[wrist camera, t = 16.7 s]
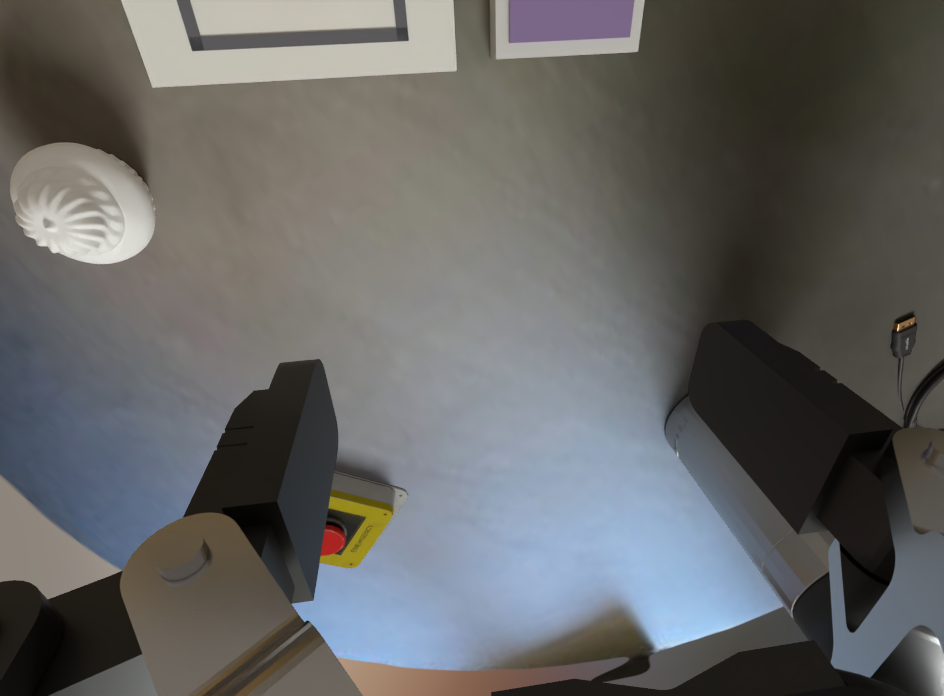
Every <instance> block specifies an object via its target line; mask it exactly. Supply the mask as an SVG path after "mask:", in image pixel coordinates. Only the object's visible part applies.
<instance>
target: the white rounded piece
mask: <svg viewBox="0 0 944 696" xmlns="http://www.w3.org/2000/svg"><path fill="white" fill-rule="evenodd" d="M10 193H11V198H12V202H13V204H14V210H15V212H16V213H17V214H16V216H15V219H16V221H17V223H18V224H19V225H20V226H22V227H23V228H24V234H25V235H26V236H28V237H31V238H34V239H35V240H36V244H37V245H38V246H47V247H49V249H50V250H51V252H53V253H57V252H59V253H61V254H63V255H65V256H67V257H70V258H72V259H75V260H79V261H83V262H87V263H94V264H110V263H116V262H120V261H123V260H126V259H128V258H130V257H132V256H134V255H136V254H138V253H139V252H140V251H141V250H143V249H144V248H145V247H146V245H147V244H148V243H149V241H150V240H151V238H152V235H153V232H154V228H155V216H156V214H155V212H154V210H155V209H156V208H155V206H154V204H153V197H152V195H151V193H150V191H149V188H148V187H147V185H146V183H145V182H143V181H142V177H140V176H138V174H137V172H136V171H135V170H134V169H132V168H131V167H130V166H129V165H128V164H126V163H125V162H124V161H121V160H119V159H118V158H117V157H115V156H114V155H112V154H107V153H105V152H104V151H102V150H101V149H94V148H92V147H89V146H86V145H82V144H78V143H69V142H62V143H52V144H48V145H44V146H41V147H38V148H36V149H33V150H31V151H30V152H28V153H27V154H25V155H24V156H23V157H22V158H21V159H20V160H19V161H18V163H17V164H16V166H15V168H14V170H13V173H12V176H11V181H10Z"/></svg>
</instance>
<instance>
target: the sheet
mask: <svg viewBox="0 0 944 696" xmlns="http://www.w3.org/2000/svg"><path fill="white" fill-rule="evenodd" d="M121 1H122V4H123V7H124V9H125V12H126V15H127V18H128V20H129V23H130V26H131V29H132V32H133V34H134V37H135V40H136V43H137V45H138V48H139V51H140V54H141V57H142V59H143V62H144V65H145V68H146V70H147V73H148V76H149V79H150V82H151V84H152V87H153V88H154V87H172V86H190V85H208V84H227V83H245V82H263V81H282V80H300V79H318V78H336V77H355V76H373V75H391V74H410V73H428V72H446V71H457V66H456V46H455V25H454V5H453V0H121Z"/></svg>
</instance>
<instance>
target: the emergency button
mask: <svg viewBox="0 0 944 696" xmlns="http://www.w3.org/2000/svg"><path fill="white" fill-rule="evenodd" d="M407 498H408V493H407V492H406V491H405V490H403V489H401V488H397V487H393V486H390V485H386V484H382V483H378V482H375V481H371V480H367V479H363V478H360V477H356V476H352V475H348V474H345V473H341V472H337V471H334V476H333V482H332V488H331V495H330V501H329V507H328V513H327V519H326V525H325V532H324V538H323V544H322V550H321V556H320V563H323V564H328V565H333V566H339V567H344V568H354V567H357V566H358V565H359V564H360V563H361V561H362V560H363V559H364V557H365V556H366V554H367V553H368V552H369V550H370V549H371V547H373V546H374V545H375V544H376V542H377V541H378V540H379V538H380V537H381V535H382V534H383V532H384V531H385V530H386V528H387V527H388V525H389V524H390V523H391V521H392V520H393V518H394V517H395V516H396V514H397V513H398V511H399V510H400V508H401V507H402V506H403V504H404V503H405V501H406V500H407Z"/></svg>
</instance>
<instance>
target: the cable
mask: <svg viewBox="0 0 944 696" xmlns="http://www.w3.org/2000/svg"><path fill="white" fill-rule="evenodd" d="M914 321H915V315H914V314H912V315H910V316H907V317H905V318H903V319H901V320H898V321H896V322H894V330H893V331H892V343H891V349H892V351H893V356H894V357H896V358H899V364H898V395H899V401H900V404H901V406H902V408H903V410H904V407H903V403H902V397H901V383H902V372H903V362H904V357H905V356H907V355H910V354H911V351H912V348H913V346H914V344H915V336H916V330H917V324H916V323H915V322H914ZM943 379H944V364H943V365H941V366H940V367H939V368H937V369H936V370H935V371H934V372H933V373H932V374H931V375H929V376H928V377H927V378H926V379H925V380H924V382H923V383H922V384H921V385H920V386H919V388H918V389H917V390H916V391H915V393H914V395H913V396H912V398H911V400H910V401H909V404H908V406H907V409H906V412H905V418H904V417H903V418H904V421H905V427H906V428H911V427H917V425H916V420H917V414H918V411H919V409H920V407H921V405H922V403H923V401H924V400H925V398H926V397H927V396H928V394H929V393H930V392H931V391H932V390H933V388H934V387H935V386H936V385H937V384H938V383H939V382H941V381H942V380H943Z"/></svg>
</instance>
